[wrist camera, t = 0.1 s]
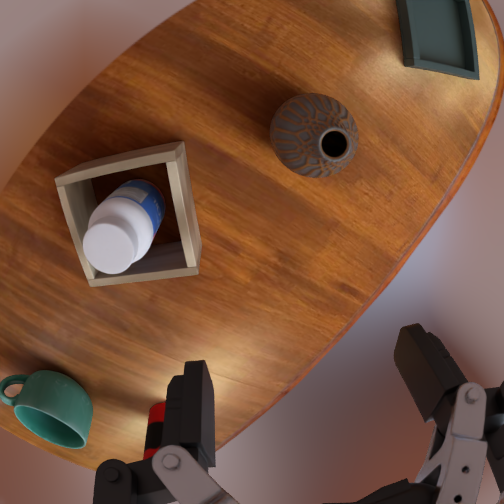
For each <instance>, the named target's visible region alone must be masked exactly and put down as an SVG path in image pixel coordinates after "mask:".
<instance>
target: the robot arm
mask: <svg viewBox="0 0 504 504" xmlns="http://www.w3.org/2000/svg"><path fill="white" fill-rule="evenodd" d="M394 361H395V364H396V366H397V368H398V370H399V372H400V374H401V376H402V378H403V380H404V381H405V383H406V385H407V387H408V389H409V391H410V393H411V395H412V397H413V399H414V401H415V403H416V405H417V407H418V409H419V411H420V413H421V415H422V417H423V419H424V422H425V423H426V422H429V421H431V420H434V421H435V423H436V425H435V426H434V430H433V434H432V438H431V441H430V445H429V448H428V452H427V455H426V459H425V462H424V464H423V466H422V468H421V470H420V472H419V473H418V475H417V478H416V480H415V483H409V482H408V479H407V478H406V479H404V480H401V481H398V482H396V483H393V484H390V485H387V486H384V487H382V488H380V489H378V490H377V491H375V492H373V493H371V494H370V495H368V496H366V497H364V498H363V499H361V500H359V501H357V502H353V503H323V504H476V501H477V496H478V493H479V489H480V484H481V480H482V475H483V470H484V465H485V459H486V457H487V459H488V462H489V464H490V467H491V469H492V472H493V474H494V477H495V479H496V482H497V485H498V488H499V491H500V493H501V495H500V497H499V501H498V503H497V504H504V381H503V383H502V384H501V386H500V387H496V388H488V389H483V388H482V387H481V386H480V385H478V384H476V383H473V382H468V381H467V379H466V378H465V376H464V375H463V373H462V372H461V370H460V368H459V367H458V365H457V364H456V363H455V361H454V359H453V358H452V357H451V356H450V354H449V352H448V351H447V349H445V346H444V345H443V344H442V342H441V341H440V339H438V338H437V337H436V336H434V335H433V334H432V333H430V332H428V333H426V332H425V330H424V329H423V327H422V326H421V325H420V324H419V323H416V324H412V325H408V326H405V327H402V328H401V329H400V333H399V336H398V340H397V343H396V347H395V350H394ZM166 399H167V400H166V404H165V413H164V422H163V431H162V441H161V445H160V447H159V449H158V451H157V452H156V453H155V454H154V455H153V456H151V457H149V458H147V459H145V460H141V461H137V462H133V463H128V464H126V463H124V462H123V461H121V460H117V459H110V460H107V461H104V462H103V463H102V464H100V466H99V467H98V468H97V471H96V476H95V485H94V497H93V504H167V503H171V502H175V501H178V502H179V503H180V504H240V503H238V502H237V501H236V500H235V499H234V498H233V497H232V496H231V495H230V494H229V493H227V492H226V491H225V490H224V489H223V488H221V487H220V486H219V485H218V484H217V482H216V481H214V479H213V478H212V477H211V476H209V474H208V467H216V465H215V416H214V389H213V384H212V380H211V377H210V374H209V371H208V368H207V365H206V362H205V360H199V361H186V362H185V367H184V375H176V376H174V377H173V378H172V380H171V382H170V383H169V385H168V388H167V396H166Z"/></svg>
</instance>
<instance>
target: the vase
mask: <svg viewBox="0 0 504 504" xmlns="http://www.w3.org/2000/svg"><path fill="white" fill-rule="evenodd" d="M270 141H271V144H272V147H273V150H274V152H275V154H276V156H277V157H278V158H279V160H280V161H281V162H282V163H283V164H284V165H285V166H286V167H287V168H289V169H290V170H291V171H293V172H295V173H297V174H299V175H302V176H306V177H313V178H321V177H327V176H331V175H333V174H336V173H338V172H339V171H341V170H342V169H344V168H345V167H346V166H347V165H348V164H349V163H350V161H351V160H352V159H353V157H354V155H355V153H356V150H357V146H358V130H357V126H356V123H355V121H354V119H353V117H352V115H351V114H350V112H349V111H348V110H347V109H346V108H345V107H344V106H343V105H342V104H341V103H340V102H338V101H337V100H335V99H333V98H331V97H329V96H326V95H323V94H317V93H307V94H301V95H297V96H295V97H292V98H291V99H289V100H287V101H286V102H284V103H283V104H282V105H281V106H280V107H279V108H278V110H277V111H276V112H275V114H274V116H273V118H272V121H271V125H270Z"/></svg>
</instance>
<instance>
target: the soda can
mask: <svg viewBox="0 0 504 504" xmlns="http://www.w3.org/2000/svg"><path fill="white" fill-rule="evenodd" d="M165 404H166V402H165V403H159V404H156V405H154V406H153V407H152V408H151V409H150V412H149V419H148V426H147V433H146V441H145V449H144V457H143V460H145V459H147V458H149V457H151V456H153V455H154V454H155V453H156V452H157V451H158V449H159V447H160V445H161V441H162V431H163V422H164V413H165Z"/></svg>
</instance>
